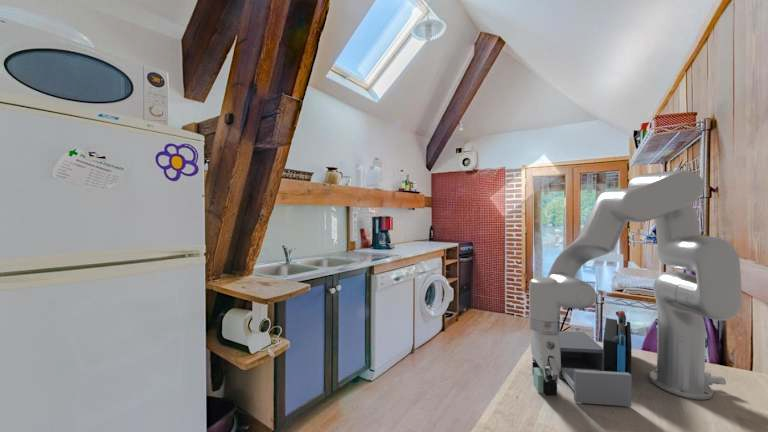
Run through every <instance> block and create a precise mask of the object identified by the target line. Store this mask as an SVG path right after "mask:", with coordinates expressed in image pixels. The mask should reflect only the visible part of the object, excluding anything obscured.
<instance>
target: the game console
mask: <svg viewBox="0 0 768 432" xmlns="http://www.w3.org/2000/svg"><path fill="white" fill-rule="evenodd" d="M615 315H616V316H617V317H618V319H616V318H615V319H614V318H607V317H606V318H605V325H604V331H603V339H602V341H603V342H602V348H603V349H604V371H609V372H626V373H629V374H631V375H632V331H631V328H632V327H631V321H627V316H626V313H625V311H623V310H619V311H615Z"/></svg>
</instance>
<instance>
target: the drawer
mask: <svg viewBox="0 0 768 432" xmlns="http://www.w3.org/2000/svg"><path fill="white" fill-rule="evenodd" d="M561 374H562V375H563V377H564V378H565V379H564V380H565V381H566V383H568V385H569V386H570V387H571V389H572V391H573V401H575V403H576V404H577V403H579V404H592V405H604V406H605V405H606V406H618V407H632V373H631V374H629V373H626V372H609V371H600V370H599V369H581V368H564V367H561Z"/></svg>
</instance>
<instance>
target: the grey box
mask: <svg viewBox="0 0 768 432" xmlns="http://www.w3.org/2000/svg"><path fill="white" fill-rule="evenodd" d="M558 335H559V341H560V352H561V367H564V368H581V369H599V370H600V371H604V349H603V346H601V345H599V343H597V342H596V341H595V340H593V338H591V337H590V336H589V334H587V333H586V332H584V331H567V330H566V331H564V330H560V332H559V333H558ZM558 374H559V375H558V377H557V378H558V379H563V380H565V378H564V377H563V375H562V374H561V371H558Z"/></svg>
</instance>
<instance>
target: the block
mask: <svg viewBox="0 0 768 432" xmlns="http://www.w3.org/2000/svg"><path fill="white" fill-rule="evenodd" d="M549 374H550V375H551V371H547V375H549ZM532 377H533V382H532V383H533V386H534V388H535V390H536V392H537V394H543V380H545V378H544V372H543V370H542V369H541V368H535V367H533V366H532Z"/></svg>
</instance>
